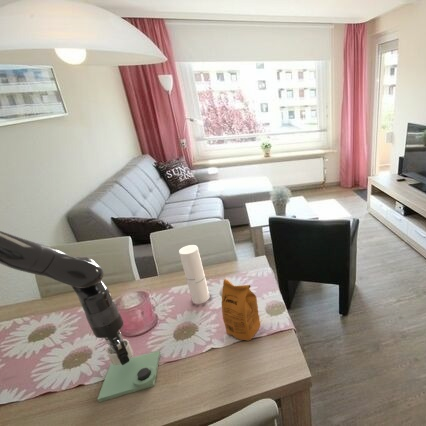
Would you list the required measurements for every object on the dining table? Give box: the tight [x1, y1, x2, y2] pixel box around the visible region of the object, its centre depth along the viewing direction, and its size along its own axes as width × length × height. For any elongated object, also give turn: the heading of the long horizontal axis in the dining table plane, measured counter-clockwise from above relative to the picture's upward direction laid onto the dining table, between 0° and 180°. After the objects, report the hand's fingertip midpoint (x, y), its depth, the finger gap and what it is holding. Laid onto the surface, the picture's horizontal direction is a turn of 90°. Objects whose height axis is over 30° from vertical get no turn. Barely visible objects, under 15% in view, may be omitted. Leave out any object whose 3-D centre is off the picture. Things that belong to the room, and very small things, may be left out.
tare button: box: [137, 368, 150, 381], centre depth 91 cm, size 3×3×2 cm
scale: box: [97, 350, 161, 403], centre depth 94 cm, size 16×14×3 cm
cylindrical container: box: [178, 244, 210, 305], centre depth 123 cm, size 7×7×25 cm
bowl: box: [106, 338, 134, 365], centre depth 93 cm, size 6×6×5 cm
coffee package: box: [221, 278, 261, 342], centre depth 106 cm, size 10×12×22 cm
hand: (122, 356), depth 94 cm, fingers closed on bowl, 6 cm apart
